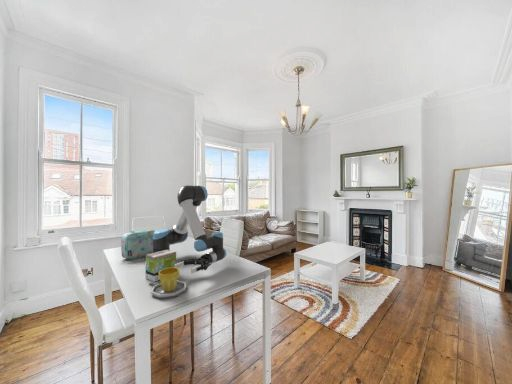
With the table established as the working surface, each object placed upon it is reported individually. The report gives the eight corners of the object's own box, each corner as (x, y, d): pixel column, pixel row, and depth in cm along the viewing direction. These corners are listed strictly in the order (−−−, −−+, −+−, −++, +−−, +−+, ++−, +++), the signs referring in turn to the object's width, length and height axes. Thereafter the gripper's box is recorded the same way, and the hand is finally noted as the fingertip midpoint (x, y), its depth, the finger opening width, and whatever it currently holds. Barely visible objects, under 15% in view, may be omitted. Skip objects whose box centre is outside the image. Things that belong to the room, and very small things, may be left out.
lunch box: (126, 262, 162) (126, 233, 162) (118, 259, 168) (118, 232, 167) (158, 253, 185) (158, 228, 185) (151, 251, 190) (151, 227, 190)
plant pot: (154, 291, 113) (153, 272, 113) (168, 283, 123) (168, 266, 123) (169, 295, 110) (169, 275, 110) (183, 286, 119) (183, 268, 119)
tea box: (155, 282, 127) (154, 257, 127) (145, 278, 133) (144, 254, 132) (176, 274, 140) (176, 251, 140) (166, 270, 145) (166, 248, 145)
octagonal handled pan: (135, 290, 117) (135, 286, 117) (162, 279, 132) (162, 275, 132) (166, 302, 105) (166, 297, 105) (192, 288, 120) (192, 284, 120)
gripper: (223, 267, 137) (199, 280, 119) (194, 261, 149) (168, 271, 131) (223, 256, 137) (199, 266, 118) (194, 250, 149) (168, 259, 131)
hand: (182, 269), depth 125 cm, fingers open, 13 cm apart
